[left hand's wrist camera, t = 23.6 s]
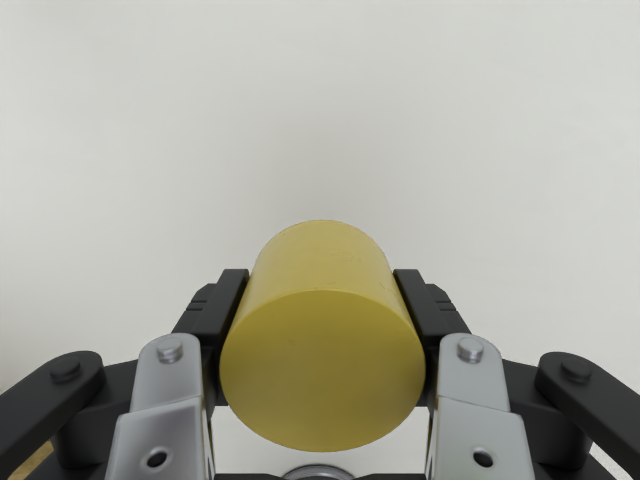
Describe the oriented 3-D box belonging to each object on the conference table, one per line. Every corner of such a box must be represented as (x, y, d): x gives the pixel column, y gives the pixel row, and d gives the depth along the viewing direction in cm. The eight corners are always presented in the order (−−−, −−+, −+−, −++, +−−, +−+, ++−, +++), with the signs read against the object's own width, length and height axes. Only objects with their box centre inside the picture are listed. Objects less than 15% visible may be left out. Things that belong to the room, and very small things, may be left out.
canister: (307, 190, 11) (299, 245, 7) (420, 273, 12) (471, 363, 8) (225, 296, 13) (180, 394, 9) (333, 363, 14) (339, 479, 10)
